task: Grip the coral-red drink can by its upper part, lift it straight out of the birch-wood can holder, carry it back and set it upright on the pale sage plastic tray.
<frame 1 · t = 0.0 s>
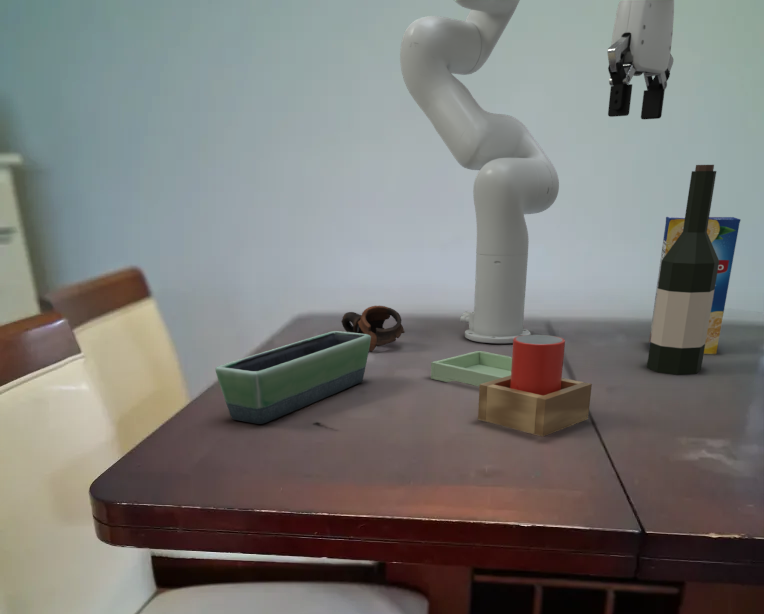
hand: (634, 117, 113), 37 cm above the table, tool pointing down, fingers open, 9 cm apart
can: (532, 418, 94), point 1 cm above the table, touching holder
planter: (302, 401, 106), on the table
holder: (532, 423, 95), on the table
tray: (490, 380, 115), on the table
beverage box: (681, 350, 134), on the table
wine bottle: (673, 369, 121), on the table
pottery mug: (372, 347, 138), on the table
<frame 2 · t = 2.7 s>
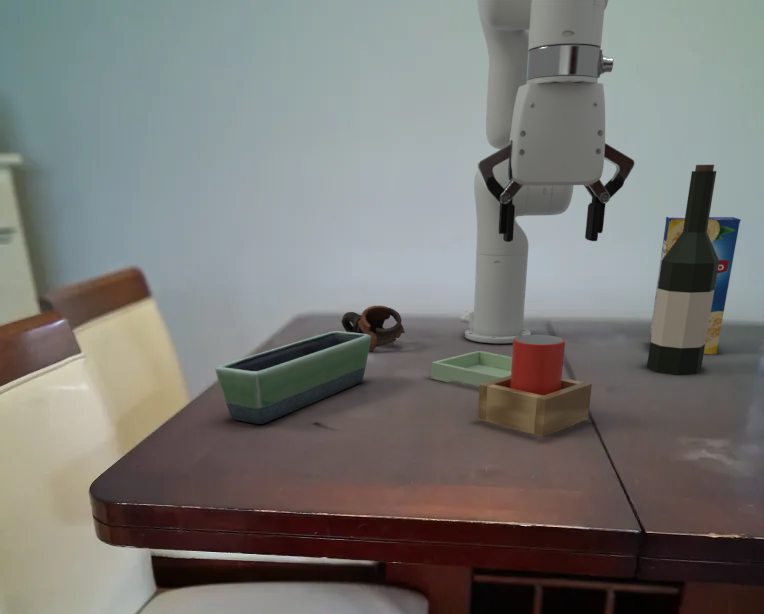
hand: (549, 240, 86), 22 cm above the table, tool pointing down, fingers open, 9 cm apart
nothing on the table moved.
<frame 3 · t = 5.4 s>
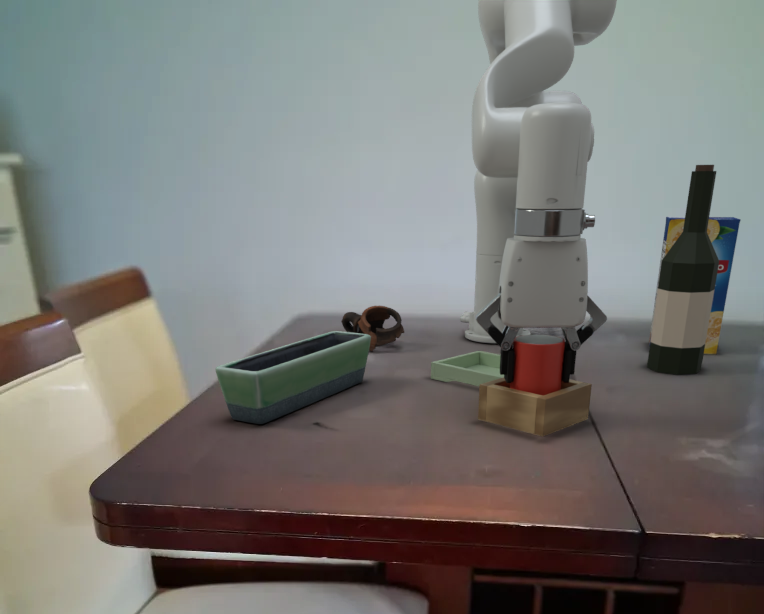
hand: (536, 379, 92), 6 cm above the table, tool pointing down, fingers closed on can, 6 cm apart
can: (532, 418, 94), point 1 cm above the table, touching gripper, holder
everything else where it was.
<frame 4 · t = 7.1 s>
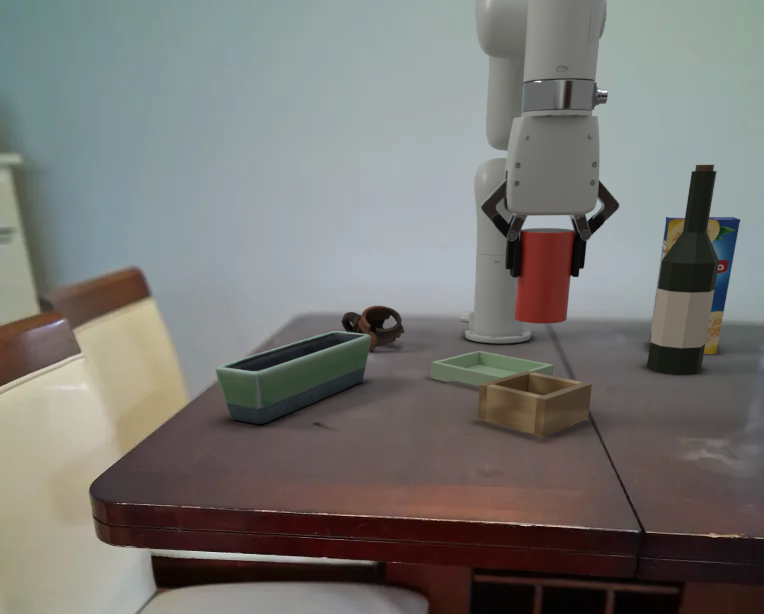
hand: (543, 274, 88), 18 cm above the table, tool pointing down, fingers closed on can, 6 cm apart
can: (540, 318, 90), point 13 cm above the table, touching gripper
everything else where it was.
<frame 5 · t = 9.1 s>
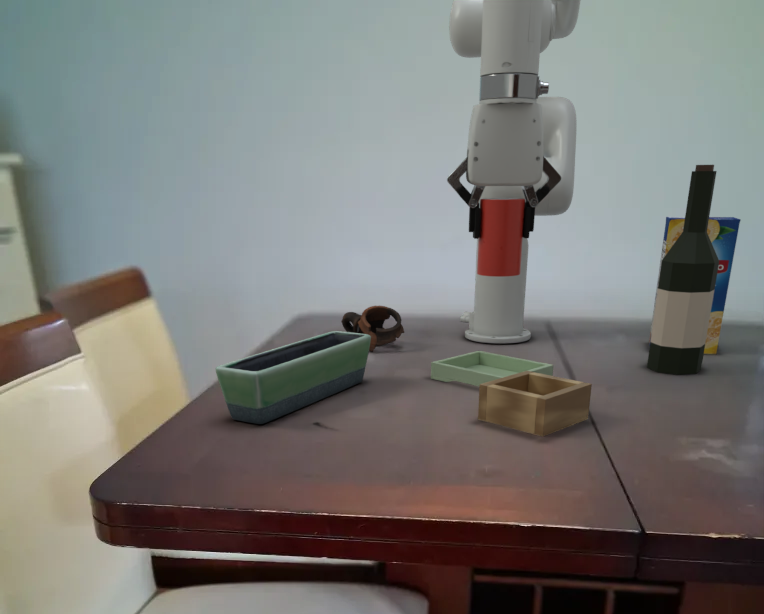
hand: (500, 236, 105), 21 cm above the table, tool pointing down, fingers closed on can, 6 cm apart
can: (498, 273, 107), point 16 cm above the table, touching gripper
everything else where it was.
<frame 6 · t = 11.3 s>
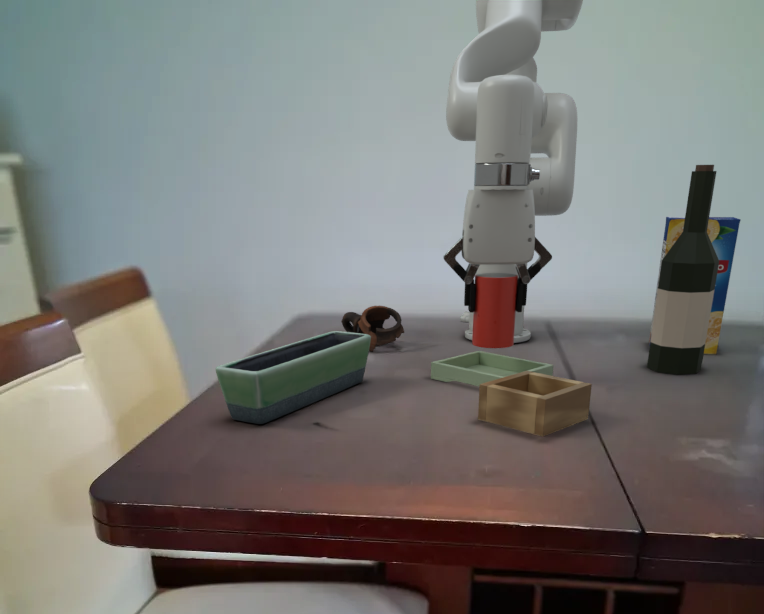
hand: (494, 309, 110), 11 cm above the table, tool pointing down, fingers closed on can, 6 cm apart
can: (492, 344, 112), point 6 cm above the table, touching gripper
everything else where it was.
when the fingers open (6 cm above the table, at t = 13.0 s): can stays where it is, resting on tray.
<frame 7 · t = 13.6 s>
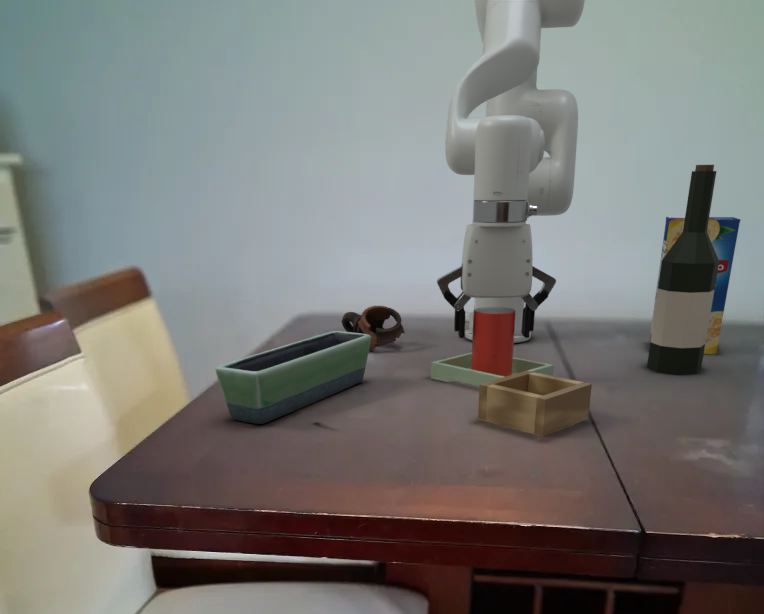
hand: (493, 336, 112), 7 cm above the table, tool pointing down, fingers open, 9 cm apart
can: (491, 376, 114), point 1 cm above the table, touching tray
everything else where it was.
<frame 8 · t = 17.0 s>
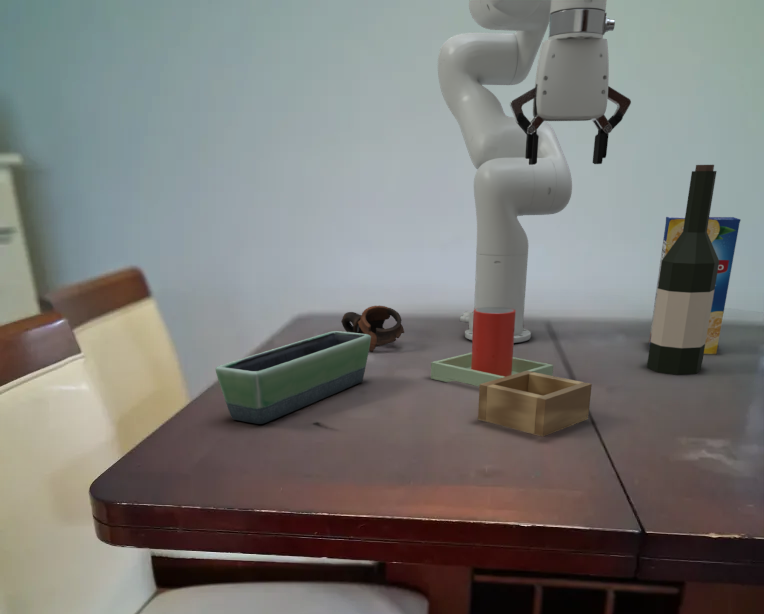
hand: (564, 164, 111), 30 cm above the table, tool pointing down, fingers open, 9 cm apart
nothing on the table moved.
at the end: can inside the target area in the tray (0.1 cm from its centre), point 0.6 cm above the tray's base; can tilted 0°; can moved 22.0 cm from its start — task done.
